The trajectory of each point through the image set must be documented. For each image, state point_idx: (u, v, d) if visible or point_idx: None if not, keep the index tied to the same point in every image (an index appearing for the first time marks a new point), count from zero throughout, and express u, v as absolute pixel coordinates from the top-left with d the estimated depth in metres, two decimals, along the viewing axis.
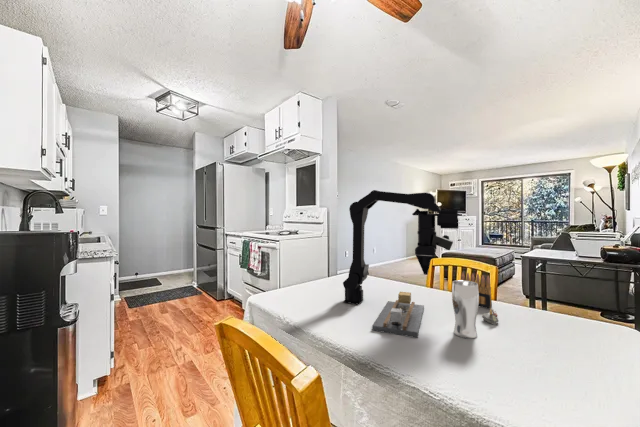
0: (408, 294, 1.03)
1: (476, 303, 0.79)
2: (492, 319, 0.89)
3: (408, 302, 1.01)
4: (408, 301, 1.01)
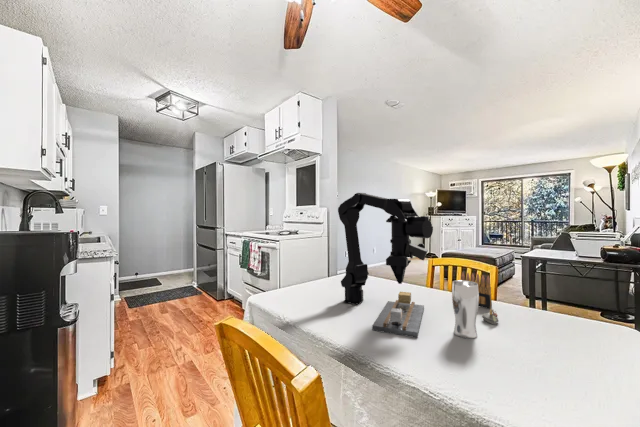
0: (408, 294, 1.03)
1: (476, 303, 0.79)
2: (492, 319, 0.89)
3: (408, 302, 1.01)
4: (408, 301, 1.01)
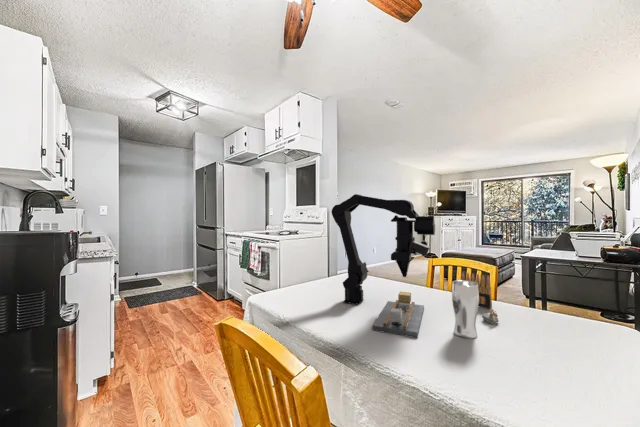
0: (408, 294, 1.03)
1: (476, 303, 0.79)
2: (492, 319, 0.89)
3: (408, 302, 1.01)
4: (408, 301, 1.01)
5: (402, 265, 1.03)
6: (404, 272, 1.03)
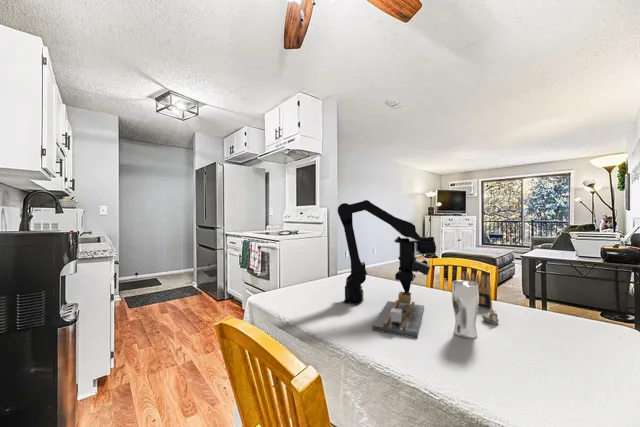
0: (408, 294, 1.03)
1: (476, 303, 0.79)
2: (492, 319, 0.89)
3: (408, 302, 1.01)
4: (408, 301, 1.01)
5: (405, 283, 1.10)
6: (407, 290, 1.10)
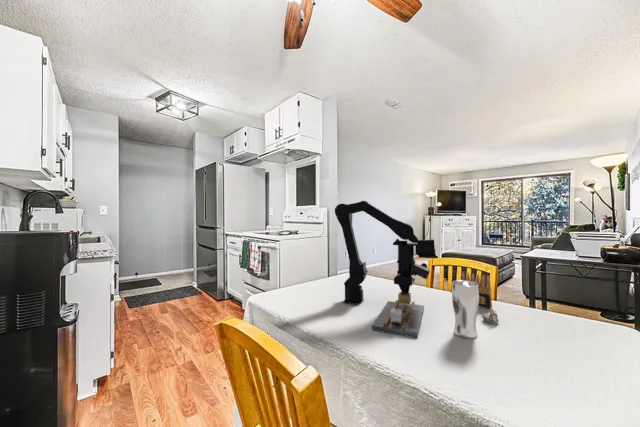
0: (408, 294, 1.02)
1: (476, 303, 0.79)
2: (492, 319, 0.89)
3: (408, 302, 1.01)
4: (408, 301, 1.01)
5: (403, 287, 1.06)
6: None
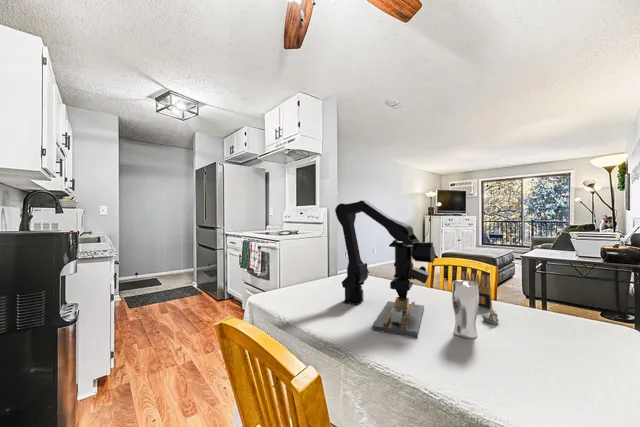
0: (405, 300, 0.96)
1: (476, 303, 0.79)
2: (492, 319, 0.89)
3: (405, 308, 0.95)
4: (405, 307, 0.95)
5: (401, 292, 1.00)
6: None
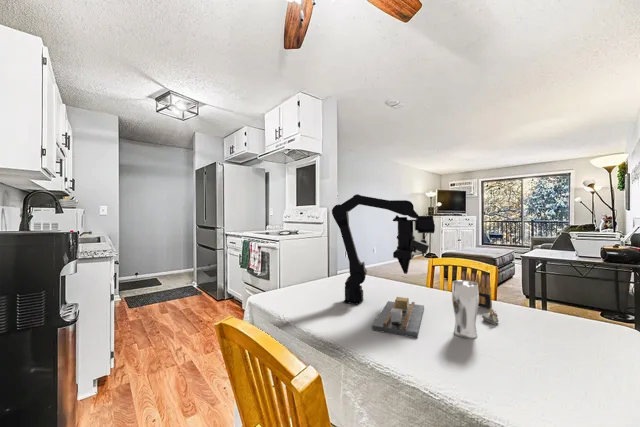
0: (405, 300, 0.96)
1: (476, 303, 0.79)
2: (492, 319, 0.89)
3: (405, 308, 0.95)
4: (405, 307, 0.95)
5: (403, 262, 1.08)
6: (405, 269, 1.08)
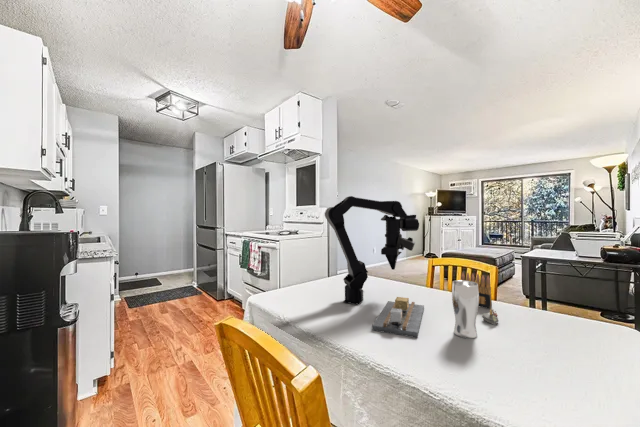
0: (405, 300, 0.96)
1: (476, 303, 0.79)
2: (492, 319, 0.89)
3: (405, 308, 0.95)
4: (405, 307, 0.95)
5: (391, 259, 1.15)
6: (393, 265, 1.15)
